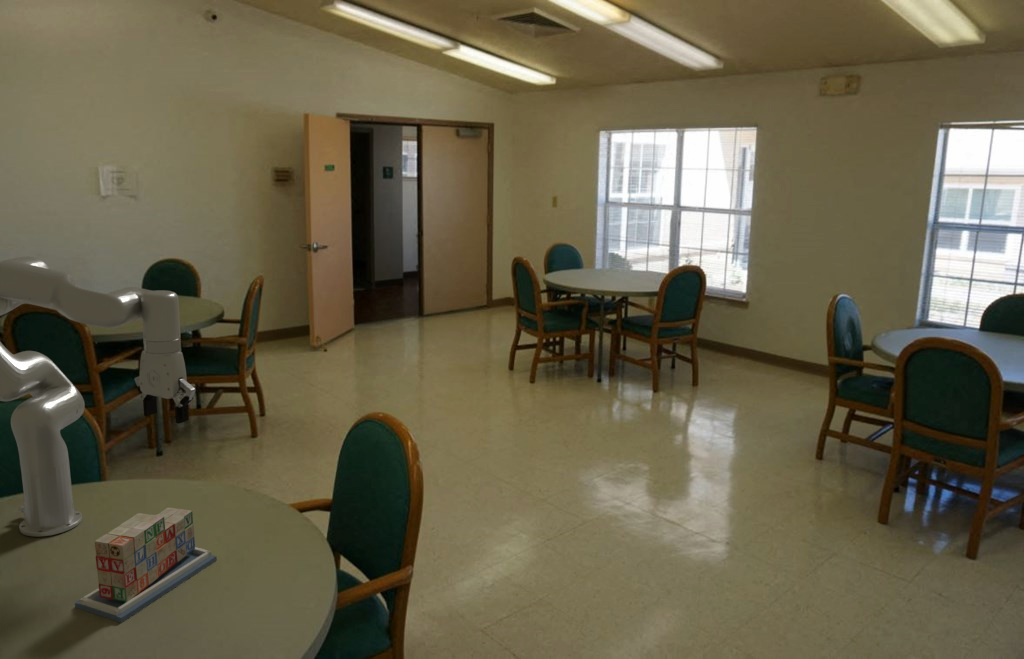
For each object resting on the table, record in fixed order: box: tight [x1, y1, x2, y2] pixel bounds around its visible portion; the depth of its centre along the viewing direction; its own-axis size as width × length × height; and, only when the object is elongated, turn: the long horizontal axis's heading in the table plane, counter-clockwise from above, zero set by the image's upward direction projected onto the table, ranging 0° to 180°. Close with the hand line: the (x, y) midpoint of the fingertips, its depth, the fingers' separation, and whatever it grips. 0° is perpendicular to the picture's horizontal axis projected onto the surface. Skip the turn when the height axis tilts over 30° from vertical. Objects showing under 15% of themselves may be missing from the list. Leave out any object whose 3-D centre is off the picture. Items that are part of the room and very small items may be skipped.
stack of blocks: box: [94, 506, 196, 602], centre depth 153 cm, size 21×6×12 cm, turn 168°
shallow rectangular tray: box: [74, 546, 217, 623], centre depth 154 cm, size 12×25×2 cm, turn 159°
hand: (166, 418), depth 170 cm, fingers open, 9 cm apart
